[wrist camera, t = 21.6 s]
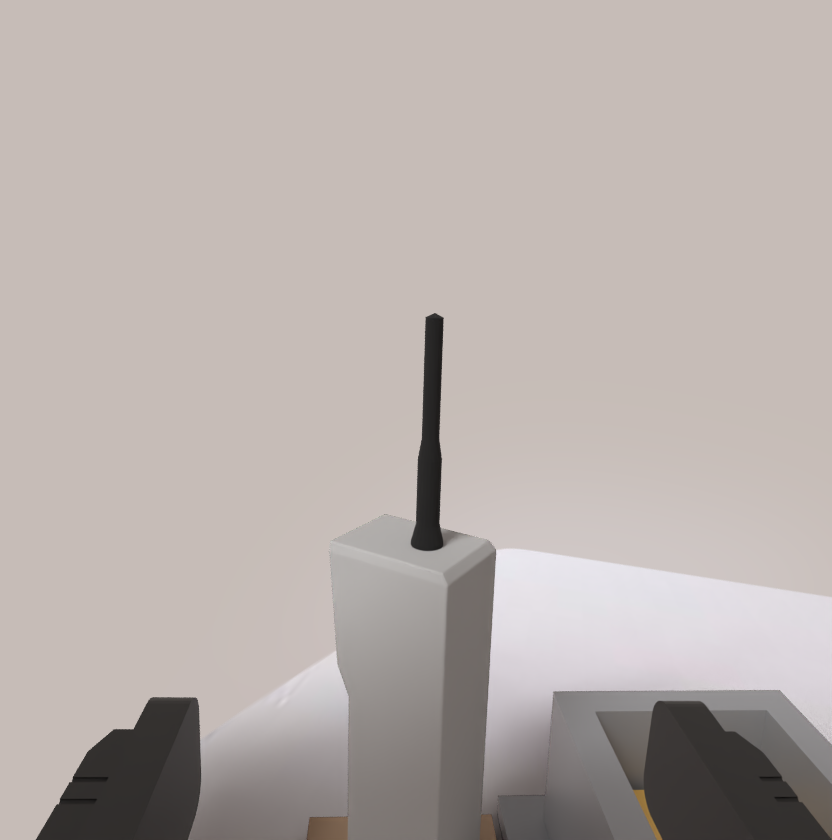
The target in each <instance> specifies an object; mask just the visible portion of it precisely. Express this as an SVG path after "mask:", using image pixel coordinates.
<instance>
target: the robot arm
mask: <svg viewBox="0 0 832 840" xmlns="http://www.w3.org/2000/svg"><path fill="white" fill-rule="evenodd" d="M199 728H200V727H199V705H198V700H197V698H171V697H167V698H164V697H161V698H159V697H153V698H150V700H149V701H148V703H147V704H146V706H145V708H144V710H143V712H142V714H141V716H140V718H139V720H138V722H137V724H136V725H135V728H134V729H132V730H130V729H128V730H127V729H115V730H113V731H112V732H110V733H109V734H108V735H107V736H106V737H105V738H103V739H102V740H101V741H100V742H99V743H97V744H96V745H95V746H94V747H93V748H92V749H91V750H89V751H88V752H87V754H86V756H85V757H84V759H83V761H82V762H81V764H80V766H79V768H78V769H77V771H76V773H75V774H74V776H73V780H72V782H70V783H69V785H68V786H67V788H66V790H65V791H64V793H63V795H62V796H61V798H60V803H59V804H57V805H56V807H55V808H54V810H53V812H52V813H51V815H50V817H49V819H48V820H47V822H46V824H45V825H44V827H43V829H42V830H41V832H40V834H39V836H38V837H37V839H36V840H188V837H189V834H190V831H191V828H192V824H193V821H194V818H195V815H196V811H197V806H198V801H199V794H200V785H201V758H200V729H199ZM644 793H645V799H646V803H647V807H648V810H649V813H650V815H651V817H652V819H653V821H654V823H655V825H656V827H657V829H658V832H659V834H660V836H661V838H662V840H832V839H831V838H830V837H829V836H828V834H827V833H826V832H825V830H824V829H823V828H822V827H821V825H820V824H819V823H818V822H817V820H816V819H815V818H814V816H813V815H812V814H811V813H810V811H809V810H808V809H807V808H806V806H805V805H804V804H803V802H799V800H798V796H797V795H796V794H795V792H794V791H793V790H792V788H791V787H790V786H789V785H788V783H787V782H786V781H783V780H782V776H781V775H780V773H779V772H778V771H777V769H776V768H775V767H774V766H773V764H772V763H771V762H770V761H769V759H768V758H767V757H766V755H765V754H764V753H763V752H762V751H761V750H759V749H758V748H757V747H755V746H754V745H753V744H751V743H750V742H749V741H747V740H746V739H745V738H743V737H742V736H741V735H739V734H738V733H737V732H735V731H725V730H724V729H723V728H722V726H721V725H720V724H719V722H718V721H717V720H716V718H715V717H714V716H713V714H712V713H711V712H710V710H709V709H708V708H707V706H706V705H705V704H704V703H703V702H701V701H657V702H656V703H655V705H654V708H653V711H652V718H651V725H650V732H649V740H648V747H647V754H646V761H645V768H644Z"/></svg>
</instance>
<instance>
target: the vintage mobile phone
mask: <svg viewBox="0 0 832 840" xmlns="http://www.w3.org/2000/svg"><path fill="white" fill-rule="evenodd" d="M443 319H444V318H443V317H441V316H439V315H437V314H435V313H434V314H432V315H430V316H428V317H426V326H425V327H426V328H425V357H424V390H423V422H422V423H423V424H422V441H421V446H420V451H419V456H418V476H417V477H418V478H417V511H416V522H414V521H411V520H407V519H402V518H399V517H395V516H391V515H387V514H384V515H382V516H380V517H378V518H376V519H374V520H372V521H370V522H368V523H366V524H364V525H362V526H360V527H358V528H356V529H354V530H352V531H350V532H348V533H346V534H344V535H342V536H340V537H338V538H336V539H334V540H332V541H331V542H330V551H329V552H330V566H331V580H332V592H333V593H332V594H333V606H334V607H333V608H334V622H335V634H336V635H335V636H336V650H337V663H338V667H339V670H340V673H341V675H342V678H343V681H344V684H345V687H346V690H347V693H348V695H349V734H348V840H480V824H481V807H482V789H483V771H484V754H485V736H486V719H487V701H488V684H489V666H490V649H491V631H492V614H493V596H494V579H495V561H496V549H495V548H494V546H493V545H492V544H491V543H490V541H489V540H486V539H482V538H478V537H474V536H470V535H466V534H462V533H458V532H454V531H450V530H446V529H442V528H440V524H439V518H440V491H441V463H442V458H441V450H440V442H439V429H440V426H439V425H440V401H441V374H442V373H441V372H442V346H443Z"/></svg>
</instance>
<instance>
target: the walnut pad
mask: <svg viewBox="0 0 832 840" xmlns="http://www.w3.org/2000/svg"><path fill="white" fill-rule="evenodd" d="M307 840H348V817H310V819H309V826H308V834H307ZM480 840H496V835H495V830H494V825H493V820H492V815H491V814H489V815H481V824H480Z"/></svg>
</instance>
